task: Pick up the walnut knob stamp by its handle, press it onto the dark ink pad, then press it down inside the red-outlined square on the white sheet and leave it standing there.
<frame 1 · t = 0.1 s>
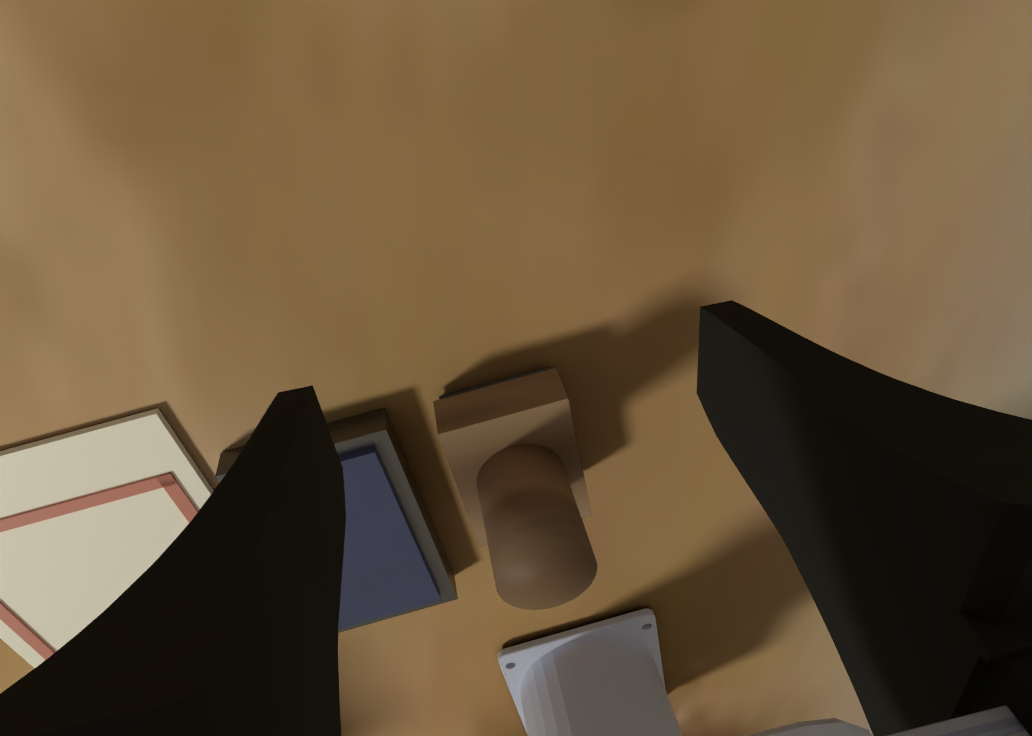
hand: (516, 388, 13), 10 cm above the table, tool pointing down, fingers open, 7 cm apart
stamp: (509, 436, 27), on the table
sheet: (122, 584, 28), on the table
ink pad: (350, 521, 28), on the table
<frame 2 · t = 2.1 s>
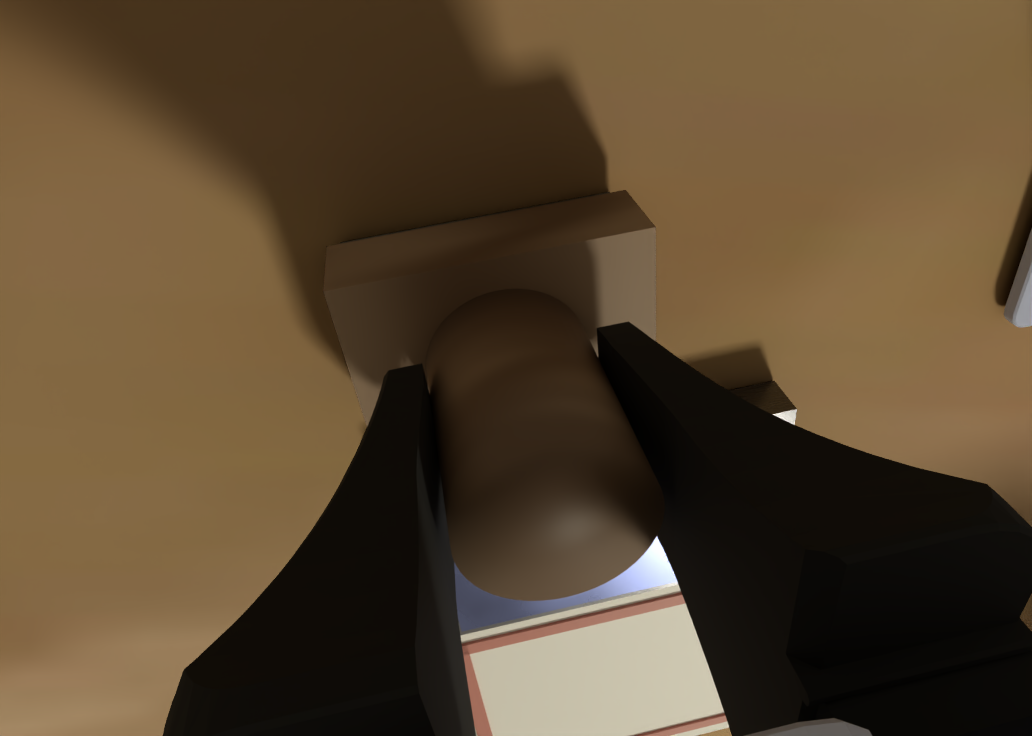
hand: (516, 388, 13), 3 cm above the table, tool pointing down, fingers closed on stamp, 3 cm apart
stamp: (490, 302, 16), on the table, touching gripper
sheet: (608, 677, 26), on the table
ink pad: (595, 500, 20), on the table
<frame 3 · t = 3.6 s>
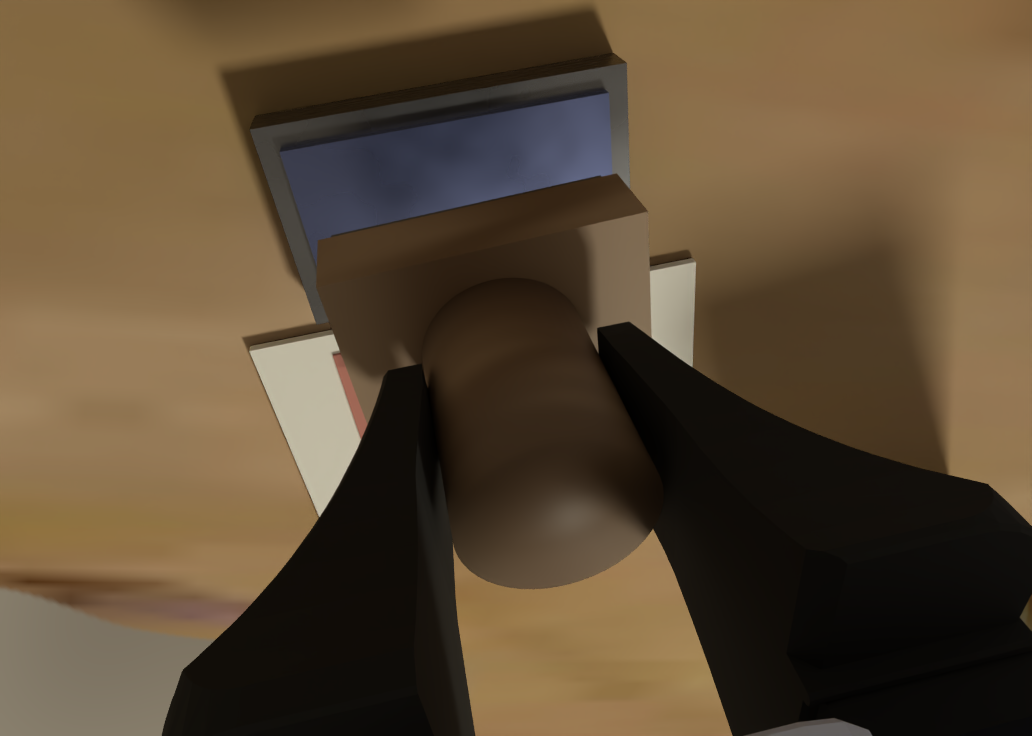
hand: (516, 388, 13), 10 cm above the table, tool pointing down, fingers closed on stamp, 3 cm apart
stamp: (484, 289, 16), point 7 cm above the table, touching gripper
sheet: (497, 419, 27), on the table
ink pad: (456, 187, 21), on the table
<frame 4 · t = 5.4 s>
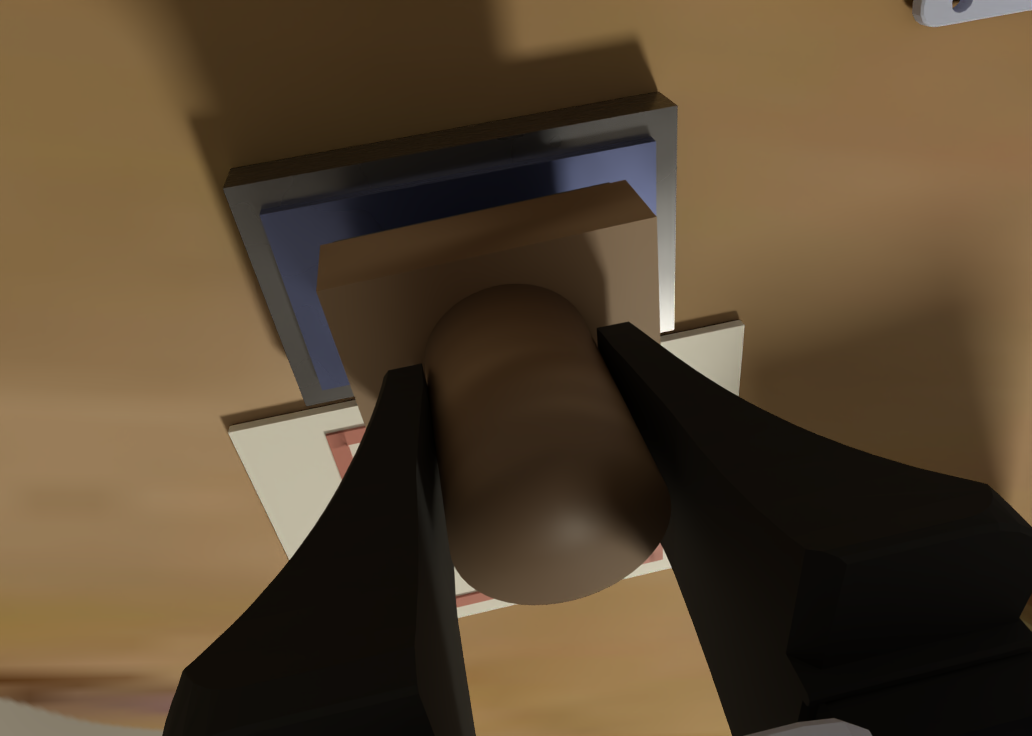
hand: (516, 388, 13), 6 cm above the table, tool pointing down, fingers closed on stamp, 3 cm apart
stamp: (490, 298, 15), point 3 cm above the table, touching gripper
sheet: (514, 497, 24), on the table
ink pad: (470, 246, 18), on the table
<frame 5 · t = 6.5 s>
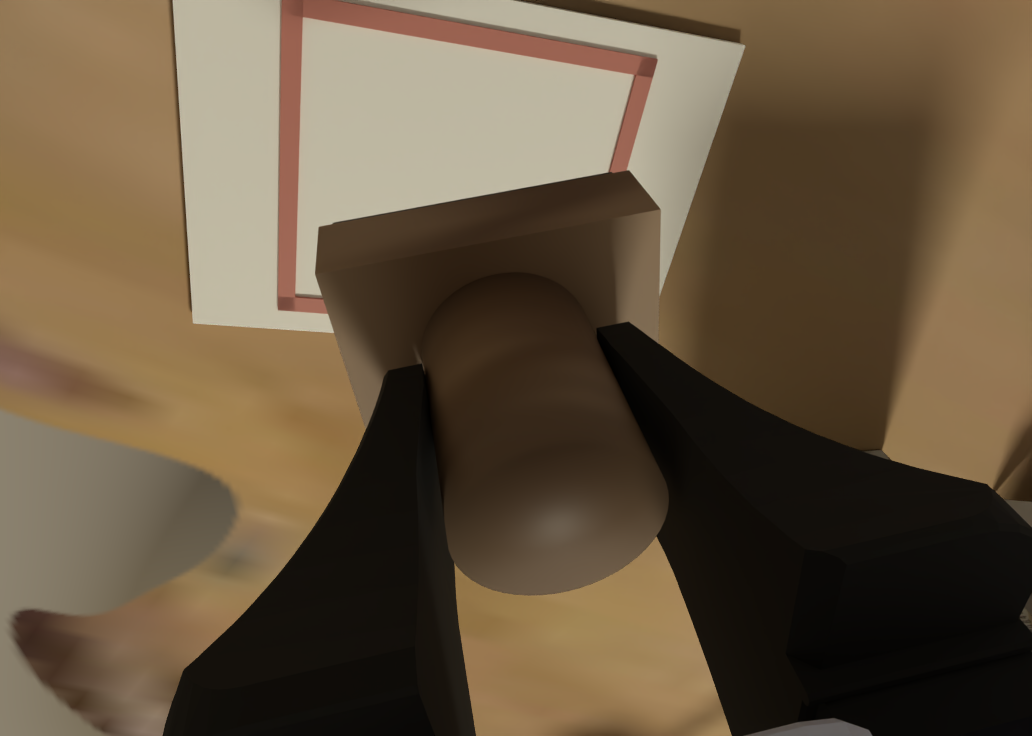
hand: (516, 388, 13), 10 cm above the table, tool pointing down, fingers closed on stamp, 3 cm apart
stamp: (488, 285, 15), point 7 cm above the table, touching gripper
sheet: (455, 186, 21), on the table
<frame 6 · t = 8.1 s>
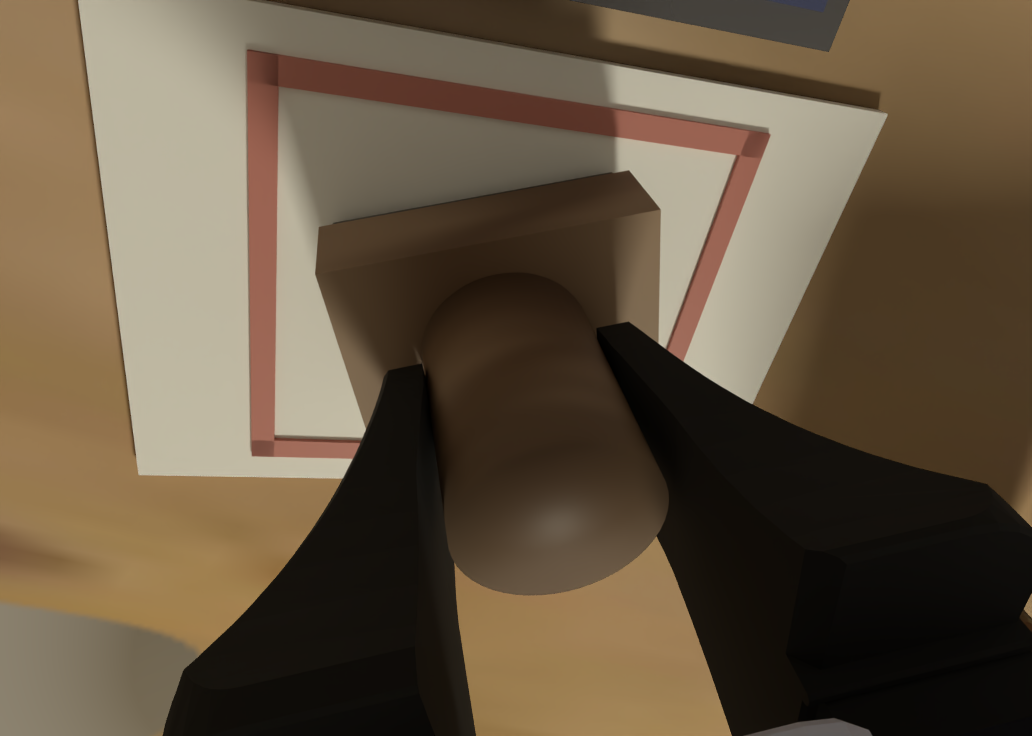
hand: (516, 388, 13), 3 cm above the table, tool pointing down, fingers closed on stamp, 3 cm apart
stamp: (488, 285, 15), resting on sheet, touching gripper
sheet: (489, 298, 16), on the table
when the fingers open (3 cm above the table, at t = 8.9 s): stamp stays where it is, resting on sheet.
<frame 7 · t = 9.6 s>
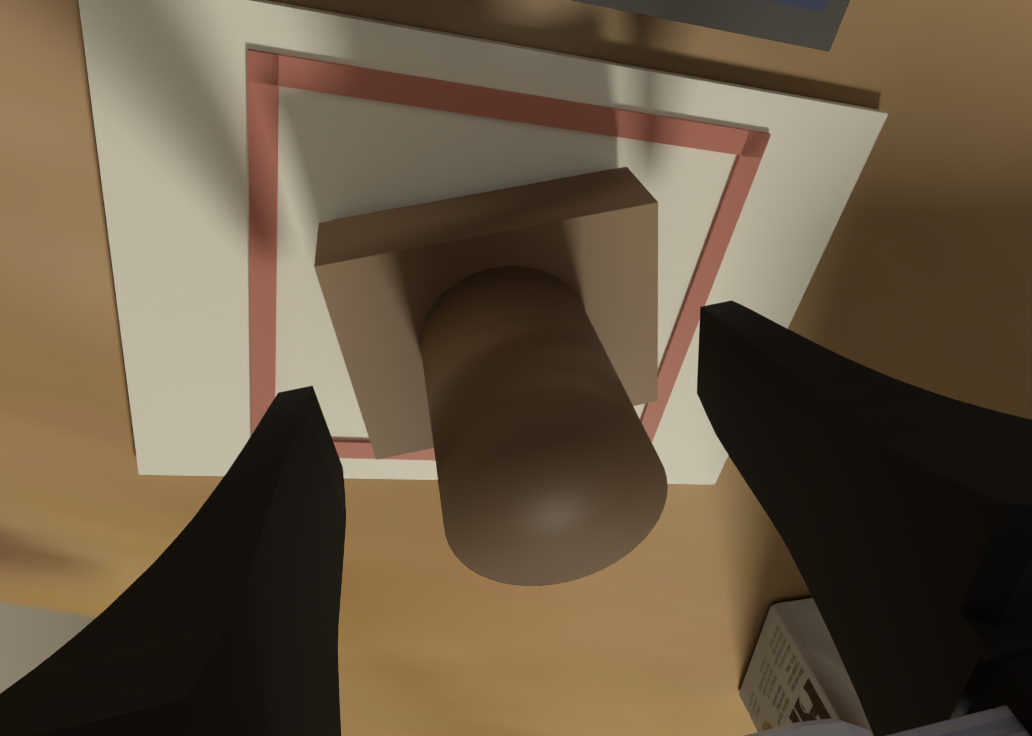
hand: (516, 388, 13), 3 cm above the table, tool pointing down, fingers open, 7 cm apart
stamp: (487, 283, 15), resting on sheet
coffee box: (857, 629, 28), on the table
sheet: (489, 298, 16), on the table
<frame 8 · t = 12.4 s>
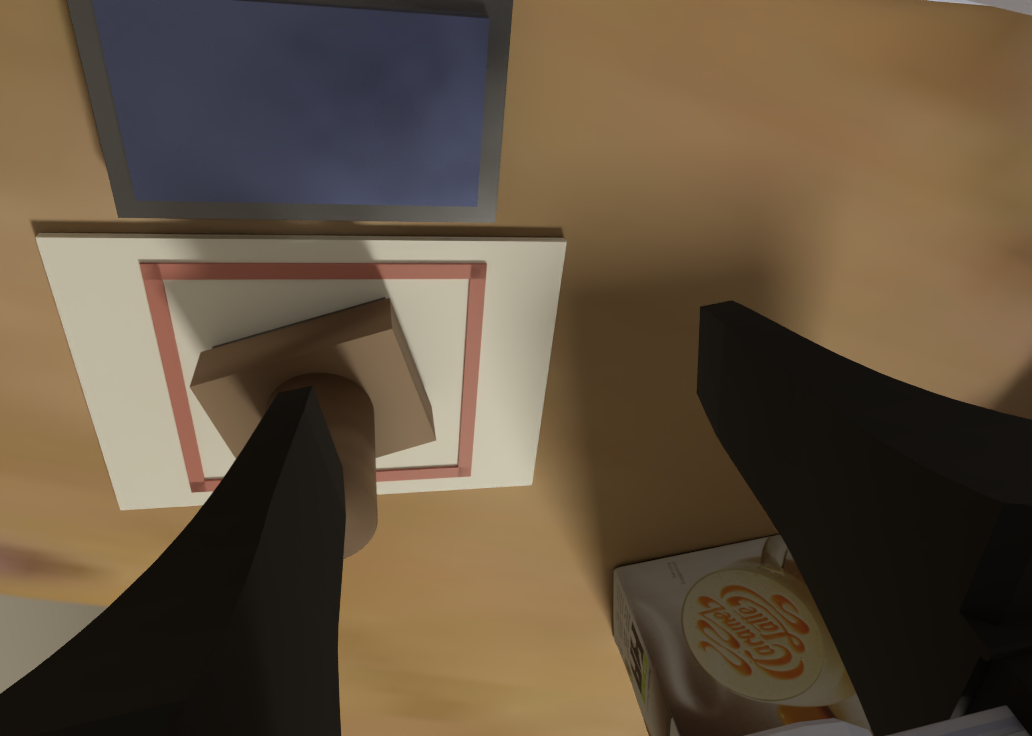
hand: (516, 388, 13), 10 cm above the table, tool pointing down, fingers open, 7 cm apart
stamp: (323, 372, 24), resting on sheet
coffee box: (700, 584, 35), on the table
sheet: (330, 379, 24), on the table
ink pad: (310, 95, 19), on the table
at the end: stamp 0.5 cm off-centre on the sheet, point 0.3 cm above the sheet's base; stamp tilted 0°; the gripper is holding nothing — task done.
